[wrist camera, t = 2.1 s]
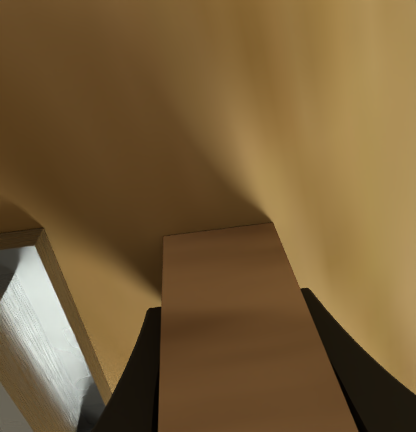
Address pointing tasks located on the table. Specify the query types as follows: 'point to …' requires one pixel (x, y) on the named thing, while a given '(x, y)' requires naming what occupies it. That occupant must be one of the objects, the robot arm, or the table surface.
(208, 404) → the brown rectangular block
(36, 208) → the table surface
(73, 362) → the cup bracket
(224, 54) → the table surface
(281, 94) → the table surface
